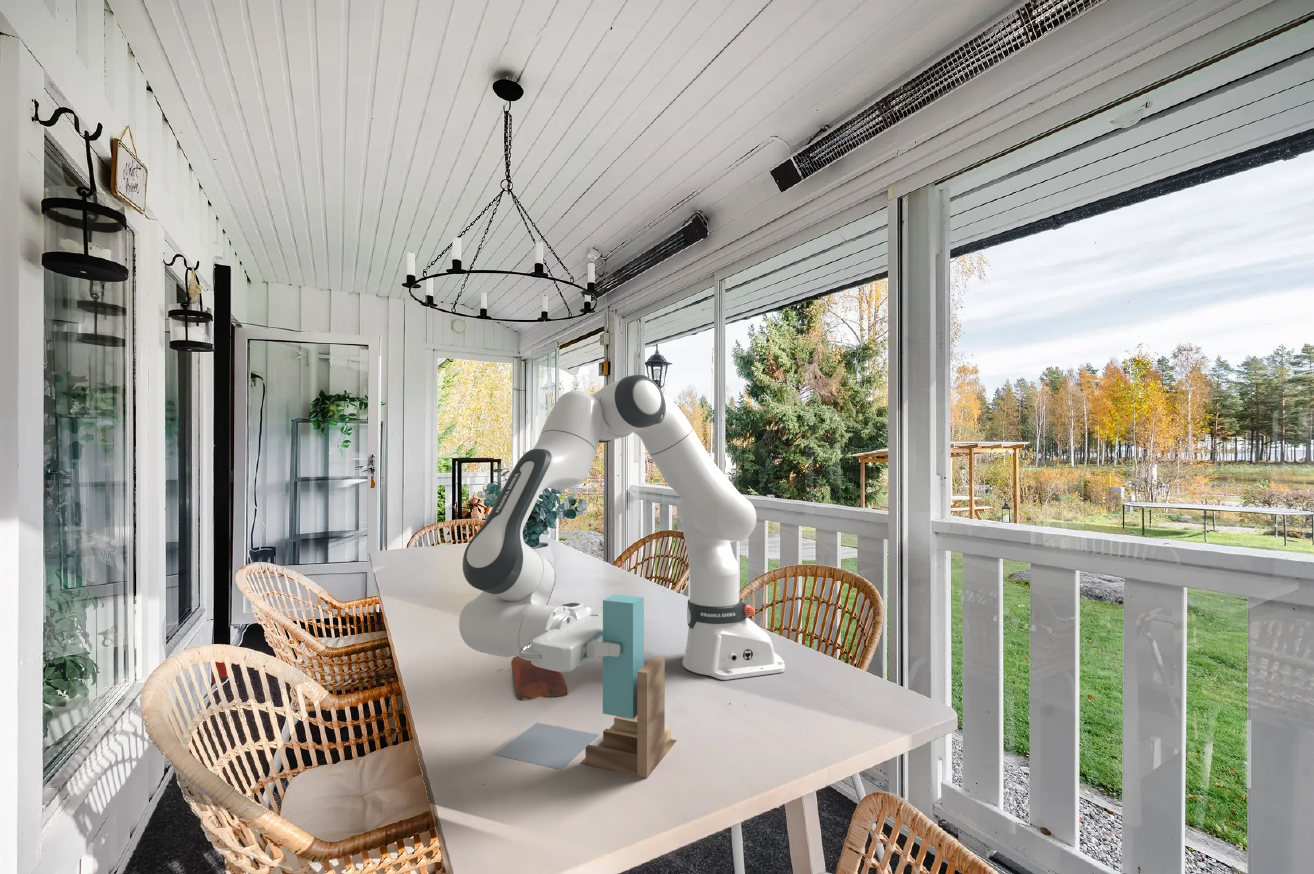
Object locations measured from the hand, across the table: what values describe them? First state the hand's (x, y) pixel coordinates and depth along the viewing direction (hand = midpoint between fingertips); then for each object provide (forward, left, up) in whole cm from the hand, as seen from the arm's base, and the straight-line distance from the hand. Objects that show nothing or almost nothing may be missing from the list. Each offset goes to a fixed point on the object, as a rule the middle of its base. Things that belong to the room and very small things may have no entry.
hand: (628, 644), depth 94 cm
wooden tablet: (+16, -41, -19) cm, 48 cm away
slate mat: (+12, -7, -19) cm, 23 cm away
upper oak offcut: (-2, -6, -16) cm, 17 cm away
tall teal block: (+1, 0, -10) cm, 10 cm away
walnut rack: (0, -3, -19) cm, 19 cm away
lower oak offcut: (-2, -6, -18) cm, 19 cm away
